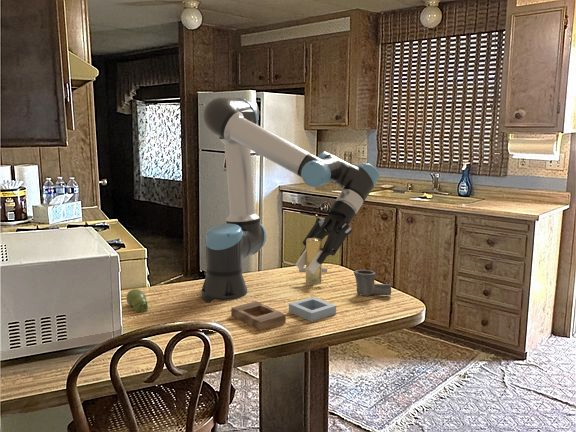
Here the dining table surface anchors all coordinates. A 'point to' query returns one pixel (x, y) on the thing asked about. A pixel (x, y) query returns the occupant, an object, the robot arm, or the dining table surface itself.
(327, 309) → the blue-grey square socket
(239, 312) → the brown wooden holder
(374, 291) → the pipe
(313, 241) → the axle
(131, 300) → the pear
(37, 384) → the dining table surface
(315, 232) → the robot arm
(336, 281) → the dining table surface
